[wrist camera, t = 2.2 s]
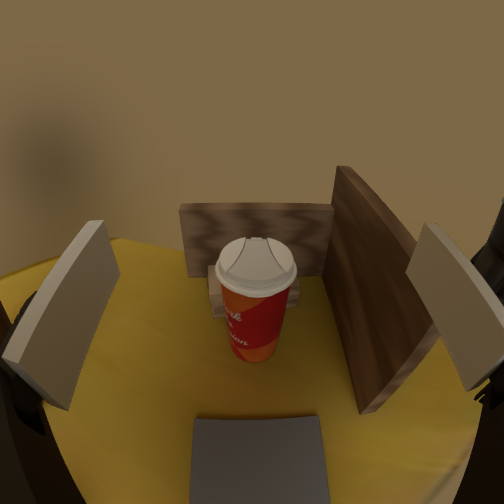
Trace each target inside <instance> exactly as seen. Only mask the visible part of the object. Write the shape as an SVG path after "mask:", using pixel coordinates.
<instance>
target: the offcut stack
mask: <svg viewBox="0 0 504 504" xmlns="http://www.w3.org/2000/svg"><path fill="white" fill-rule="evenodd" d="M215 266H216V265H209V266H208V277H207V284H208V289H209V298H210V303H211V305H212V312H213V318H219V317H226V314H225V308H224V302H223V295H222V289H221V283H220V281H219V280H218V278H217V276H216V272H215ZM300 287H301V286H300V284H299V281H298V279H297V276H296V277H295V280H294V281H293V283H292V284H291V287H290V291H289V296H288V300H287V304H286V308H289V307H295V306H297V304H298V299H297V298H299V293H300Z"/></svg>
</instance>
